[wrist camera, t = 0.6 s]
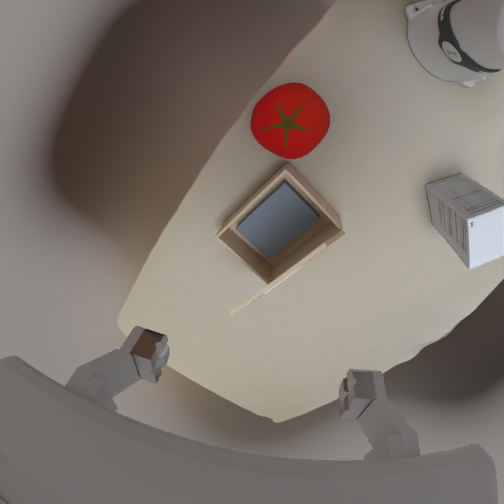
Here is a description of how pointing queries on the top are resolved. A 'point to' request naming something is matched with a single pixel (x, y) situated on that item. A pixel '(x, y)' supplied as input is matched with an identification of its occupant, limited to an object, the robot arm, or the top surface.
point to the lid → (289, 272)
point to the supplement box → (468, 218)
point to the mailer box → (279, 225)
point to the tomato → (290, 120)
